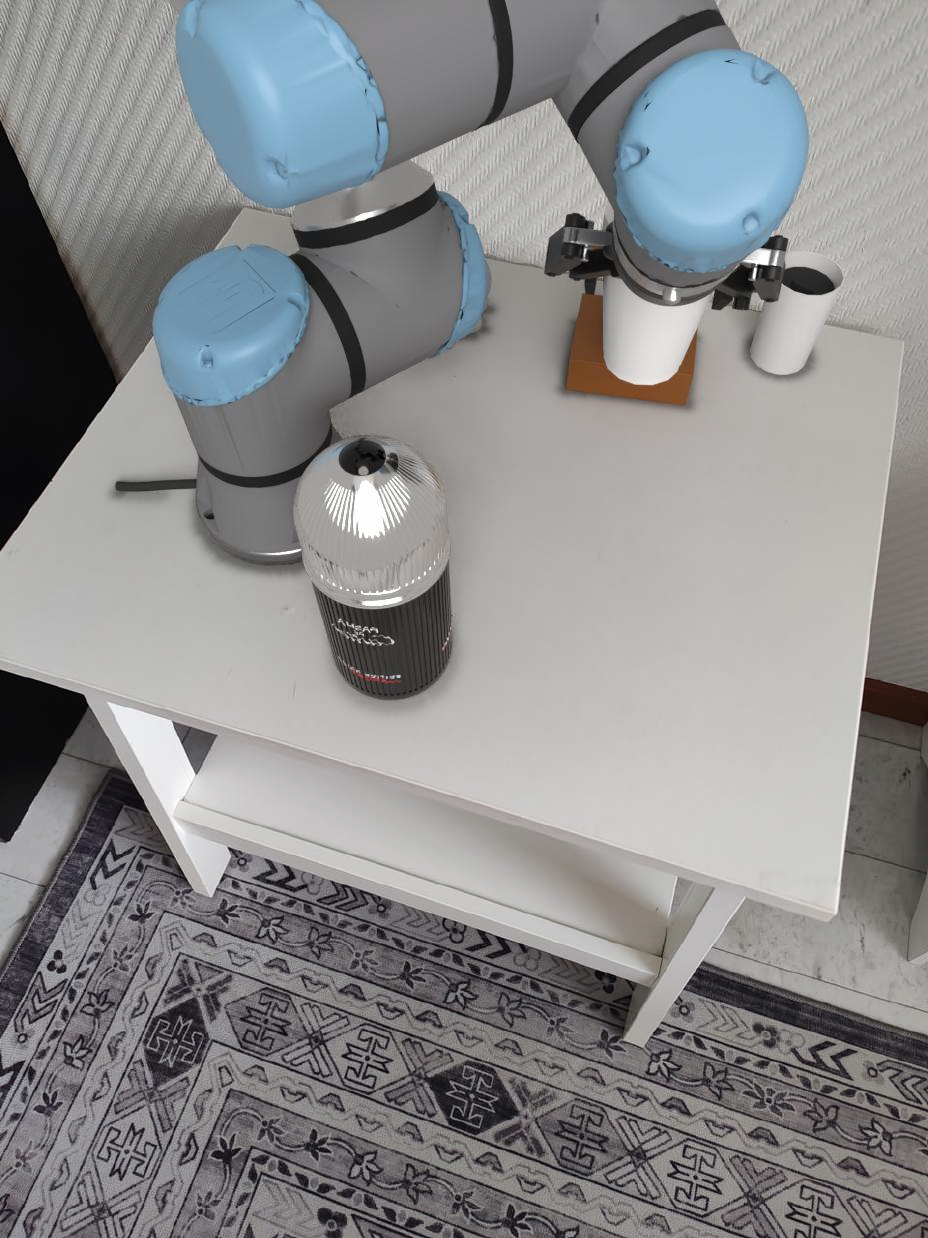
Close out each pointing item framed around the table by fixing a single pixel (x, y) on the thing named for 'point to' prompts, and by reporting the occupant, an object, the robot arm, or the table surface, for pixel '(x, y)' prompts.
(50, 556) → the table surface
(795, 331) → the white cylindrical cup
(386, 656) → the spray bottle
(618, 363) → the foam cup
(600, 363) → the brown block
